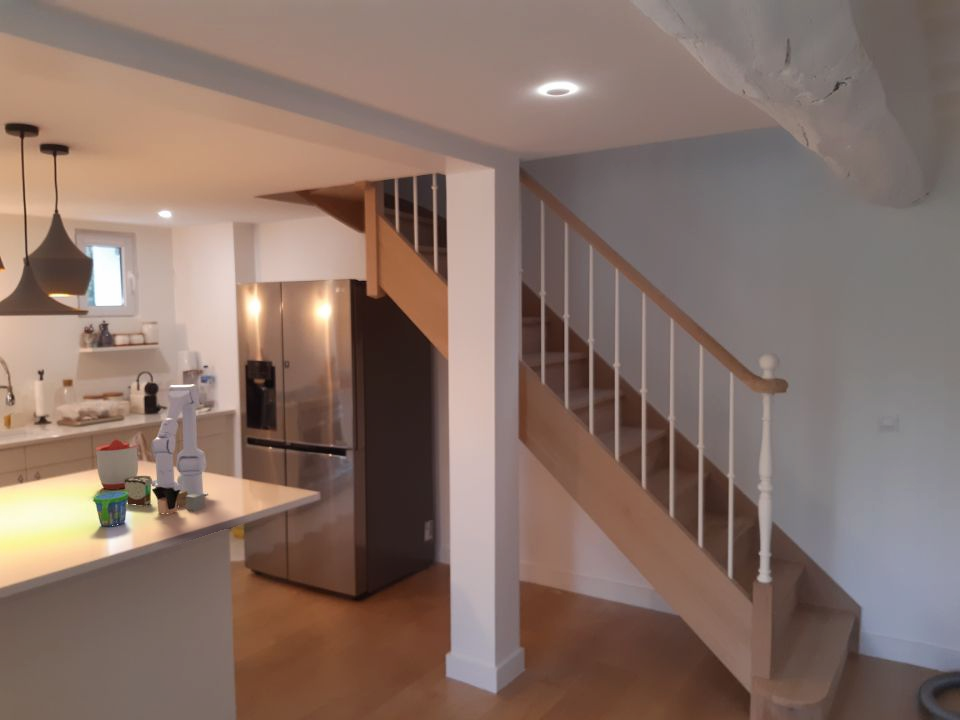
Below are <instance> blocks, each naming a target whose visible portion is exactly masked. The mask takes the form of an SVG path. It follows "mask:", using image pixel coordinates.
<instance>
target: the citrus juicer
mask: <svg viewBox="0 0 960 720" xmlns="http://www.w3.org/2000/svg"><path fill="white" fill-rule="evenodd" d="M95 451H96V452H95V453H96V465H97V474H98V477H99V480H100V483H101V485H102V487H103V488H104V489H106V490H114V489H116V490H119V489H125V483H123V480H124V478H126V477H132V476H138V473H139V472H138V470H139V461H138V460H139V459H138V457H139V456H140V455H141V452H140V451H139V450H138V444H137V443H135V444H134V445H132V446H130V442H122V441H121V440H119V439H118V438H115V439H114V440H112V442H111V443H110V444H105V445H100V446H97V447H95Z"/></svg>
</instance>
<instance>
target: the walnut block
mask: <svg viewBox="0 0 960 720" xmlns="http://www.w3.org/2000/svg"><path fill="white" fill-rule="evenodd" d="M186 496H188V493H187V491H182V490H180V492H179V494H178V496H177V500H176V502H177V508H179V507H178V506H181V507H183V506H182V505H184V506H186Z"/></svg>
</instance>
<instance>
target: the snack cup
mask: <svg viewBox="0 0 960 720" xmlns="http://www.w3.org/2000/svg"><path fill="white" fill-rule="evenodd" d="M92 499H93V502H94V504H95V506H96V511H97V512H96V513H97V516H98V519H99V523H100V525H103V526H102V527H105V526H110V527H113V526H112V525H117V524H120V525H122V524H123V522H124V523H125V521H126V515H127V514H126V513H127V507H128V506H127V505H128V504H127V499H128V492H126V490H125V491H123V490H117V491H116V490H115V491H107V492H106V491H105V492H102V493H99V494H96V495H94V496H93V498H92ZM121 523H122V524H121ZM117 526H118V525H117Z"/></svg>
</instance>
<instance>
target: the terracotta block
mask: <svg viewBox="0 0 960 720" xmlns="http://www.w3.org/2000/svg"><path fill="white" fill-rule="evenodd" d="M156 501H157V513H158V512H159V513H158V514H160V513H164V514H163V515H165V514H167V513H170V514H172V513H171V512H174V513H176V512H175V511H177V512H178V507H177V502H176V504H175V508H174V509H168V505H167V500H166V497H165V498H161V499H157V498H156ZM167 515H168V514H167Z"/></svg>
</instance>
